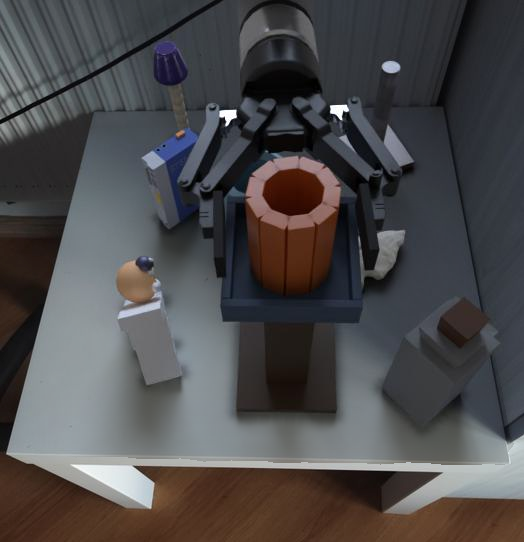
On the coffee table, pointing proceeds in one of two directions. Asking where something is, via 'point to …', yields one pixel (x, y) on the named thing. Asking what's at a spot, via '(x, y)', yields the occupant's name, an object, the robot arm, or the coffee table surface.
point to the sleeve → (291, 224)
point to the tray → (289, 321)
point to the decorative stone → (383, 254)
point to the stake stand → (387, 115)
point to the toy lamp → (172, 77)
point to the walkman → (169, 176)
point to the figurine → (147, 320)
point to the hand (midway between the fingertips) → (296, 264)
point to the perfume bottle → (440, 358)
